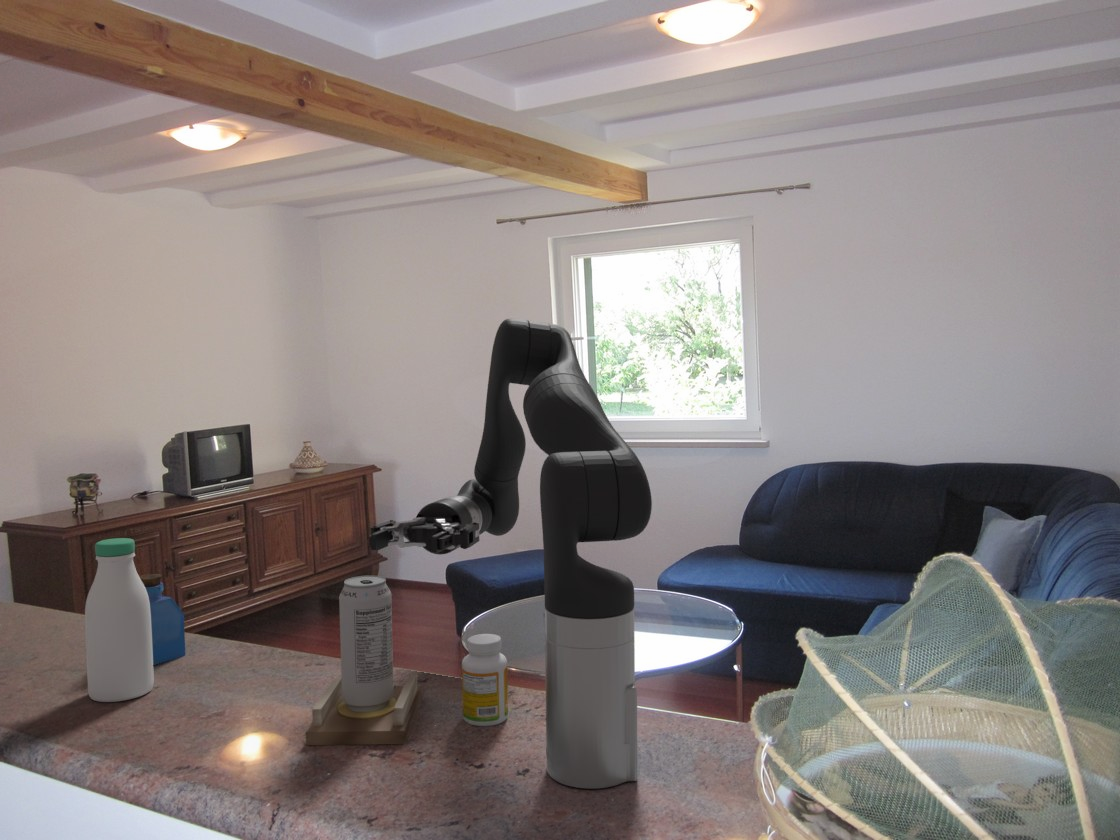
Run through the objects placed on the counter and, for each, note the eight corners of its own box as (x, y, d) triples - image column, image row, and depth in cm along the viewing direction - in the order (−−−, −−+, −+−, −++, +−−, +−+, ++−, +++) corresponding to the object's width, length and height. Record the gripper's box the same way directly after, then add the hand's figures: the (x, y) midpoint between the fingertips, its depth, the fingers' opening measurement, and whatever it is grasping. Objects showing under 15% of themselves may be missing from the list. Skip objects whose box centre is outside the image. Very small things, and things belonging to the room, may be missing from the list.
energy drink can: (382, 691, 113) (379, 571, 112) (401, 706, 108) (399, 582, 107) (335, 701, 110) (331, 579, 109) (353, 718, 105) (349, 589, 104)
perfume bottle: (185, 655, 134) (182, 574, 133) (146, 667, 128) (142, 583, 128) (159, 648, 137) (156, 569, 136) (120, 660, 132) (117, 578, 131)
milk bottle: (164, 691, 119) (157, 539, 118) (102, 709, 113) (94, 549, 112) (139, 678, 124) (133, 532, 123) (79, 693, 119) (71, 541, 117)
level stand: (422, 697, 116) (422, 670, 116) (404, 743, 102) (404, 713, 102) (335, 698, 116) (335, 671, 116) (306, 745, 102) (305, 714, 102)
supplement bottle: (485, 706, 113) (483, 629, 112) (517, 716, 109) (516, 637, 109) (453, 720, 109) (451, 639, 108) (486, 731, 105) (484, 648, 105)
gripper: (404, 497, 135) (352, 513, 120) (495, 499, 132) (454, 516, 116) (405, 547, 136) (354, 570, 120) (496, 550, 132) (455, 574, 117)
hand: (403, 543), depth 118 cm, fingers open, 8 cm apart
